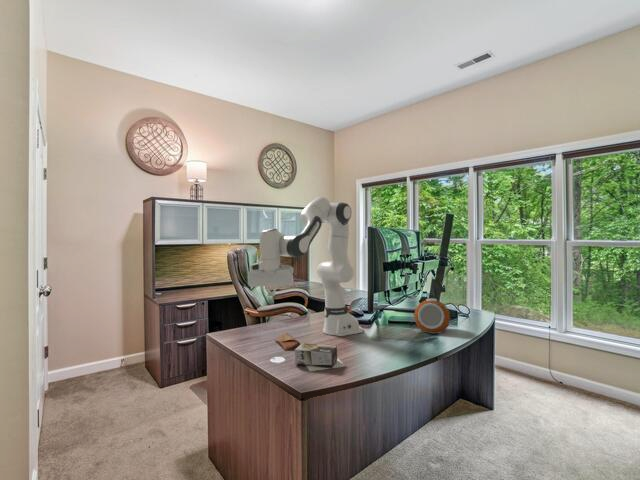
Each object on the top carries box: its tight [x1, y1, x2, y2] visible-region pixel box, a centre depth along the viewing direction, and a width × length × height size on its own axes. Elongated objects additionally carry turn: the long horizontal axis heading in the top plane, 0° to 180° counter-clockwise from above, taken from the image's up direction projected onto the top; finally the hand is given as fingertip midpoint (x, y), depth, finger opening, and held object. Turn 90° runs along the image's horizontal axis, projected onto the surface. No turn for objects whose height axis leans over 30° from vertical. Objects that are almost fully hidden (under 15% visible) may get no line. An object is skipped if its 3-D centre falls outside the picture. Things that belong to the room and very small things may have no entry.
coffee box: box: [294, 342, 338, 369], centre depth 138 cm, size 9×6×16 cm
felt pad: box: [305, 357, 346, 372], centre depth 140 cm, size 15×16×1 cm
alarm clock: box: [413, 297, 451, 334], centre depth 184 cm, size 19×18×17 cm
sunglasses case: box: [274, 332, 302, 352], centre depth 163 cm, size 18×7×7 cm, turn 26°
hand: (271, 296), depth 146 cm, fingers closed
